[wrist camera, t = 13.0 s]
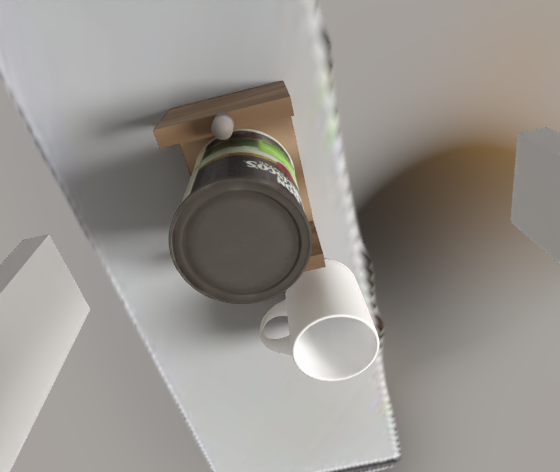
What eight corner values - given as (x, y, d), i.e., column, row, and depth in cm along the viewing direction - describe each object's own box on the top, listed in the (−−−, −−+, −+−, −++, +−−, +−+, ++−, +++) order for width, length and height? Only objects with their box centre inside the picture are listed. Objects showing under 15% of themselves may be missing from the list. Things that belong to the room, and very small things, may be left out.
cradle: (169, 108, 40) (147, 136, 32) (282, 80, 40) (292, 100, 31) (219, 250, 48) (211, 305, 39) (314, 228, 47) (329, 279, 39)
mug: (248, 274, 50) (247, 336, 40) (348, 247, 49) (372, 305, 39) (268, 328, 54) (271, 397, 44) (361, 305, 53) (385, 370, 43)
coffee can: (243, 104, 40) (240, 147, 27) (315, 179, 44) (341, 246, 31) (170, 177, 43) (137, 247, 30) (244, 241, 46) (242, 326, 34)
